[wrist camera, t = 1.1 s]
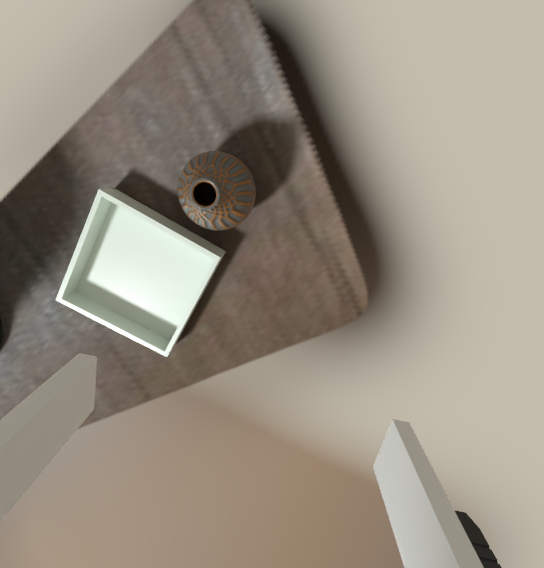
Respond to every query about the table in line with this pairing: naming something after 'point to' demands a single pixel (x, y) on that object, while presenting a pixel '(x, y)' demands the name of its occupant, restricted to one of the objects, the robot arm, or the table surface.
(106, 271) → the tray
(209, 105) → the table surface
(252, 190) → the vase
